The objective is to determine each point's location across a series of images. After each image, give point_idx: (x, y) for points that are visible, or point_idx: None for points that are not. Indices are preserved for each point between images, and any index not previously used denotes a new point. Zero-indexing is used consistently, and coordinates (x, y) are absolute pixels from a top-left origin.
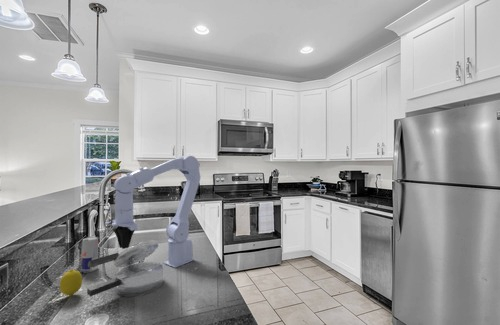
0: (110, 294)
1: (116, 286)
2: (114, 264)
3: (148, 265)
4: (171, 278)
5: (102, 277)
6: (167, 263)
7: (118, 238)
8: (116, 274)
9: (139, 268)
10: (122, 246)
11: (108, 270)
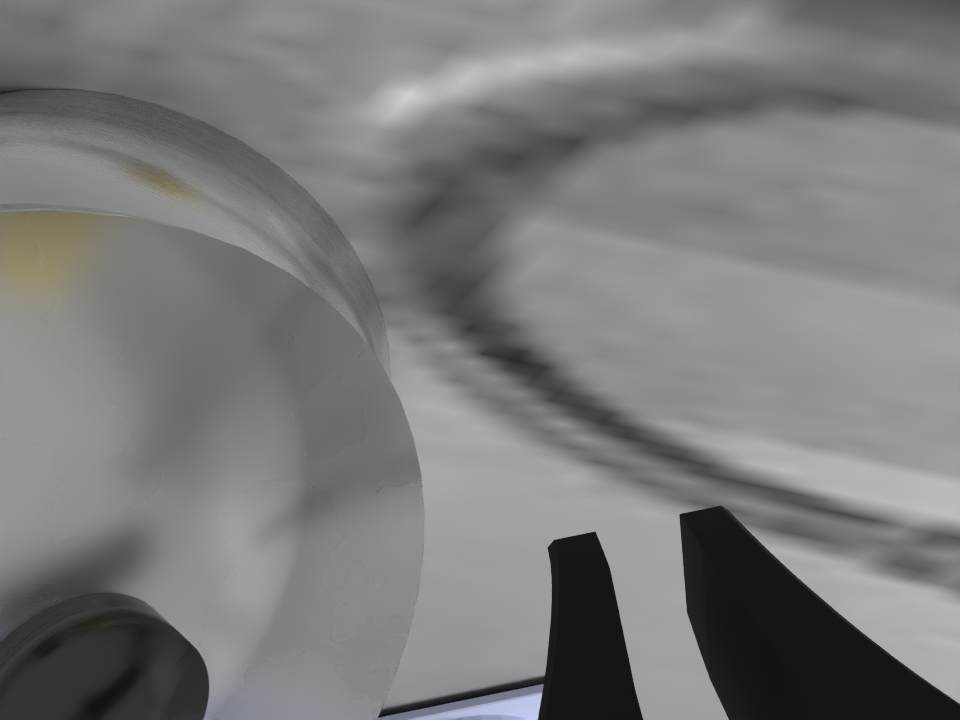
0: (50, 4)
1: (49, 108)
2: (17, 205)
3: None
4: None
5: (759, 34)
6: (496, 706)
7: (806, 688)
8: (62, 169)
9: None
10: (559, 575)
11: (942, 159)
